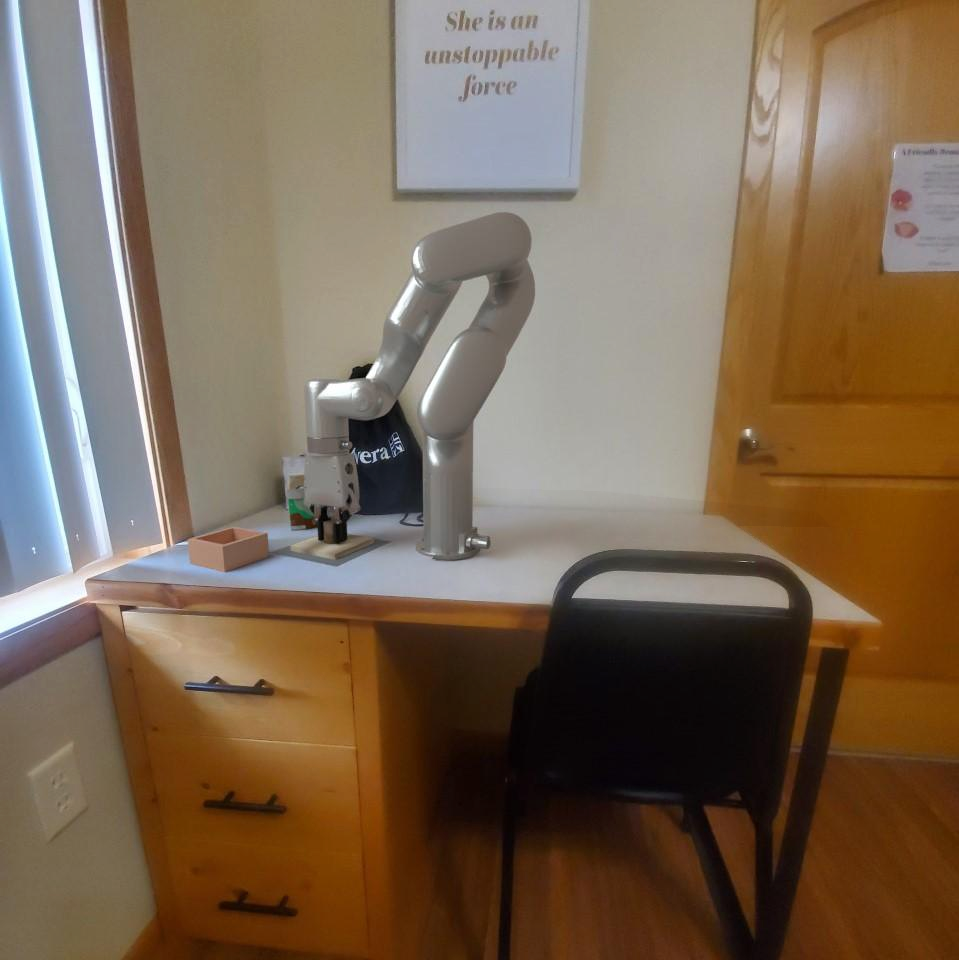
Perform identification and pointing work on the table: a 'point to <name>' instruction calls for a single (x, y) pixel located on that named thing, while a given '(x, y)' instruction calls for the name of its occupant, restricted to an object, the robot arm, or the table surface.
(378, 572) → the table surface
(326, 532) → the lid
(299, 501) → the food container
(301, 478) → the box
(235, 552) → the open square bin
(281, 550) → the mat
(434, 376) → the robot arm
